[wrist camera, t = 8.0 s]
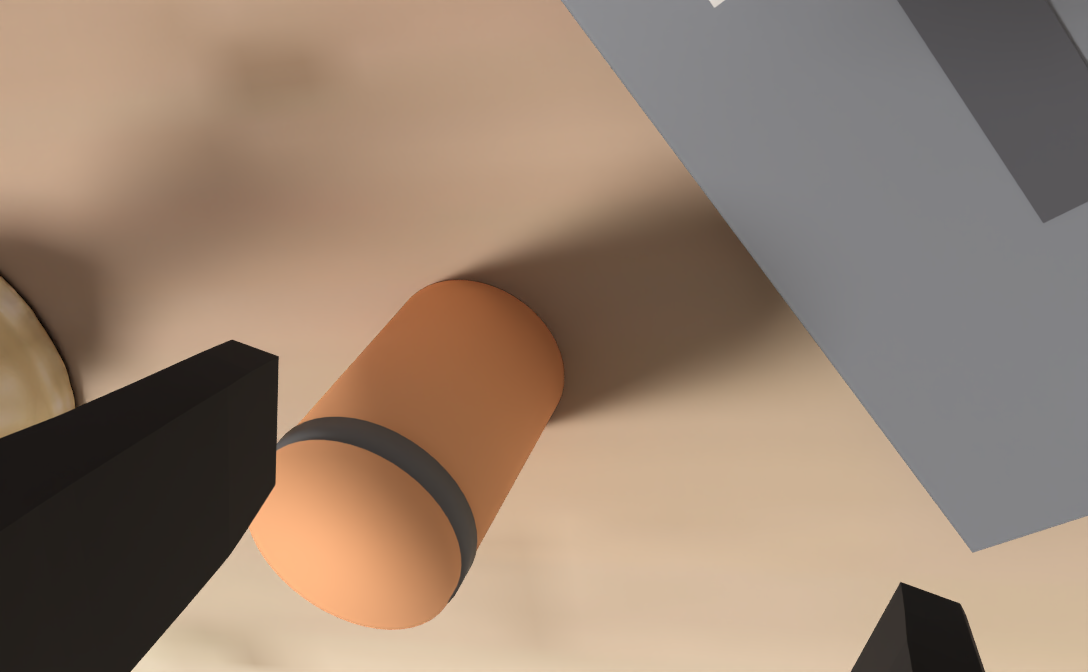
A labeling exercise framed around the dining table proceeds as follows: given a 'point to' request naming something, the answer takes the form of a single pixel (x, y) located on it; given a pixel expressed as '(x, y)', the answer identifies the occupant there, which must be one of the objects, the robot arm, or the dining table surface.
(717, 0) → the cream rectangular block
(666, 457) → the dining table surface
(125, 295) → the dining table surface
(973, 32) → the panel
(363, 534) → the cap
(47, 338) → the hand bell
